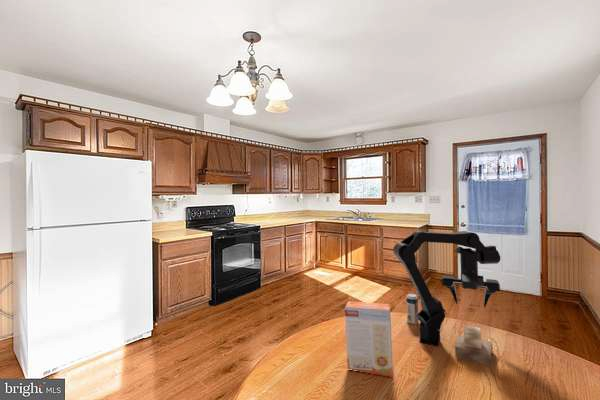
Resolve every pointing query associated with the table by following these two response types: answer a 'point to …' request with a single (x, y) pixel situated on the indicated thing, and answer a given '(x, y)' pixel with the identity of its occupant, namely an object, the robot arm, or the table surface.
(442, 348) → the table surface
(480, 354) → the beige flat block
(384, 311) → the cracker box
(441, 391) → the table surface
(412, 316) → the white capped bottle
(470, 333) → the maple cube
